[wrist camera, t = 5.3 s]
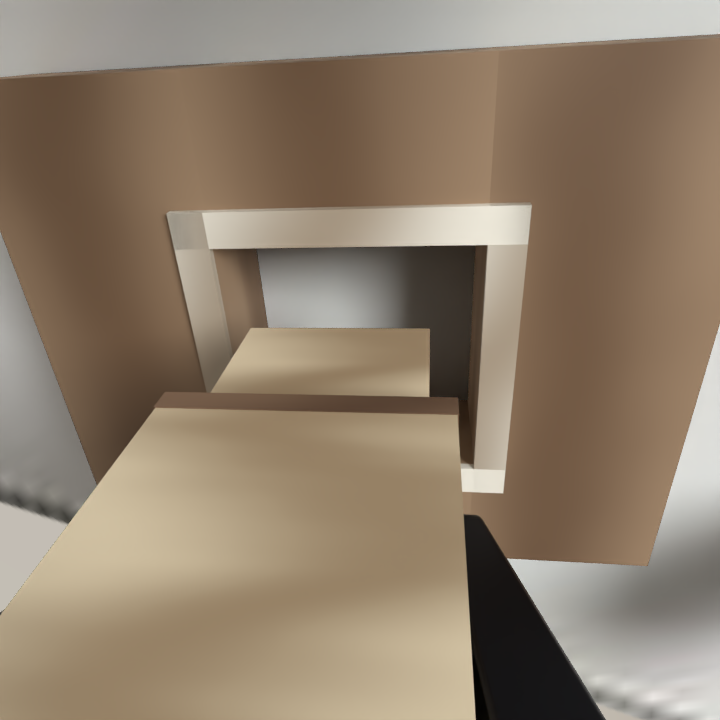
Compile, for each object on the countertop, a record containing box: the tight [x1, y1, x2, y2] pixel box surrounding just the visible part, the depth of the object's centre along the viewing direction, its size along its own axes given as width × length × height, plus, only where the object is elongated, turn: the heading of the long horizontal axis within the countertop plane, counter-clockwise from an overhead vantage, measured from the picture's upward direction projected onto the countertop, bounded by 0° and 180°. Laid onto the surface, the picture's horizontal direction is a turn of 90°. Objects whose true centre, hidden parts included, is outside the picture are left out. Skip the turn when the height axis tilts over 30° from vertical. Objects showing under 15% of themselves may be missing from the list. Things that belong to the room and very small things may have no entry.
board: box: [0, 34, 720, 566], centre depth 15 cm, size 16×13×3 cm
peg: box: [0, 328, 476, 720], centre depth 8 cm, size 4×4×9 cm
